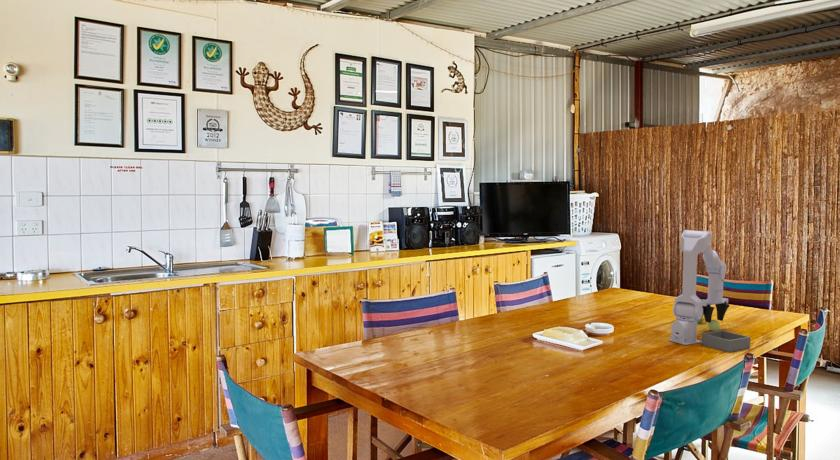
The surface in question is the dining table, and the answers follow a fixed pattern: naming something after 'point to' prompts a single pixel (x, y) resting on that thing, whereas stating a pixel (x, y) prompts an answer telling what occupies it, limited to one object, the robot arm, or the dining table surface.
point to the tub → (725, 341)
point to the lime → (714, 325)
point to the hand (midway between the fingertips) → (714, 321)
